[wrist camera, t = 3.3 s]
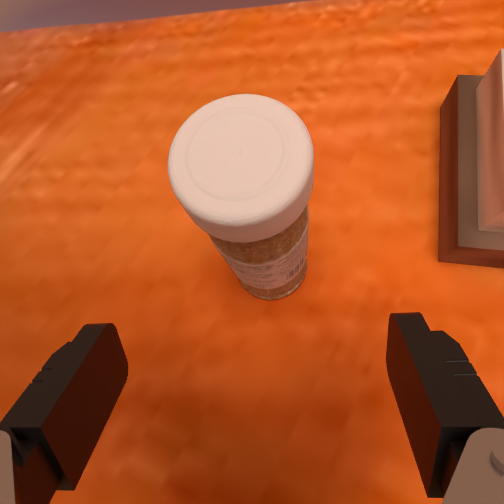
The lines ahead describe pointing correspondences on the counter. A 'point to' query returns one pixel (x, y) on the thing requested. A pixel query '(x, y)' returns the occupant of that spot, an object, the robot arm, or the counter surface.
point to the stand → (473, 170)
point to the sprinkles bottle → (248, 187)
